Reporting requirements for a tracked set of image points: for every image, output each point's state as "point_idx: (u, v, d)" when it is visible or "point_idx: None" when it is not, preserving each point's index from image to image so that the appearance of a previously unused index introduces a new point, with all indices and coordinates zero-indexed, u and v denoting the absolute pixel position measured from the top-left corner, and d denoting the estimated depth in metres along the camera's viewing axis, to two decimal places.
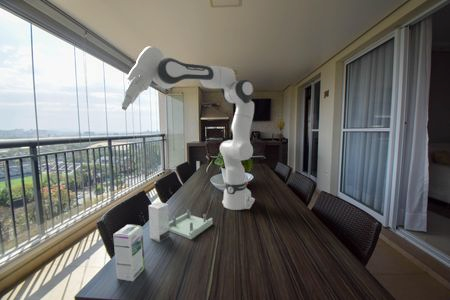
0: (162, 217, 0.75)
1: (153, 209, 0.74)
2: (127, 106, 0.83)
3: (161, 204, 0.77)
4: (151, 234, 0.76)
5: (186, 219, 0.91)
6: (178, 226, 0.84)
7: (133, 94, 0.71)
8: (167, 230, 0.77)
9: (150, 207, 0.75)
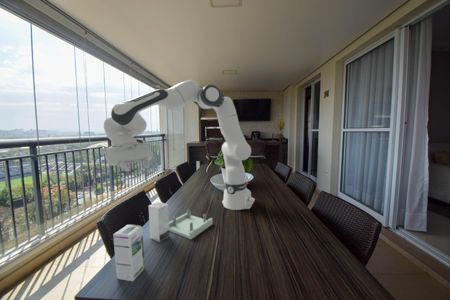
0: (162, 217, 0.75)
1: (153, 209, 0.74)
2: (146, 162, 0.86)
3: (161, 204, 0.77)
4: (151, 234, 0.76)
5: (186, 219, 0.91)
6: (178, 226, 0.84)
7: (111, 160, 0.74)
8: (167, 230, 0.77)
9: (150, 207, 0.75)
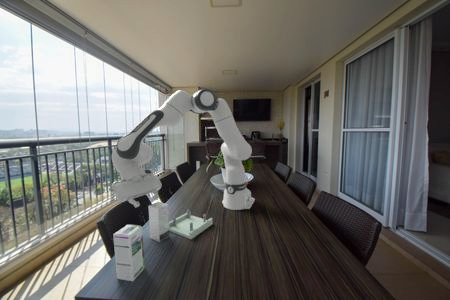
0: (162, 217, 0.75)
1: (153, 209, 0.74)
2: (155, 194, 0.85)
3: (161, 204, 0.77)
4: (151, 234, 0.76)
5: (186, 219, 0.91)
6: (178, 226, 0.84)
7: (120, 198, 0.73)
8: (167, 230, 0.77)
9: (150, 207, 0.75)
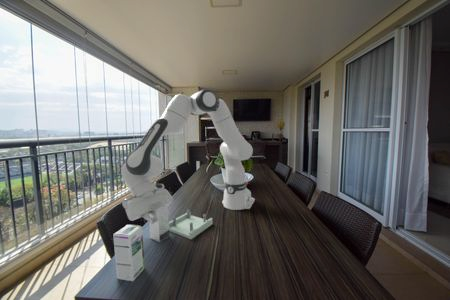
0: (162, 217, 0.75)
1: (153, 209, 0.74)
2: None
3: (161, 204, 0.77)
4: (151, 234, 0.76)
5: (186, 219, 0.91)
6: (178, 226, 0.84)
7: (132, 216, 0.69)
8: (167, 230, 0.77)
9: (150, 207, 0.75)
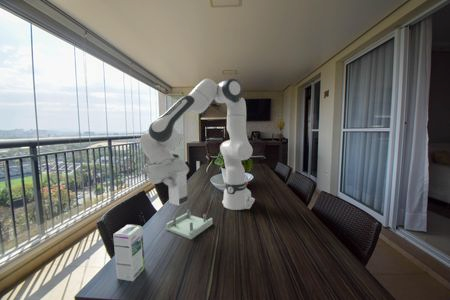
0: (181, 182, 0.79)
1: (173, 174, 0.78)
2: None
3: (179, 170, 0.81)
4: (170, 199, 0.80)
5: (186, 219, 0.91)
6: (178, 226, 0.84)
7: (154, 179, 0.73)
8: (185, 195, 0.81)
9: (169, 173, 0.79)
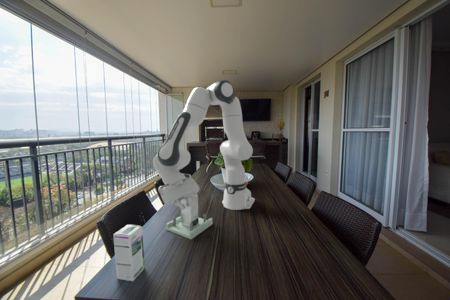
0: (193, 206, 0.83)
1: (186, 199, 0.82)
2: None
3: (191, 194, 0.85)
4: (182, 221, 0.85)
5: None
6: (178, 226, 0.84)
7: (168, 201, 0.78)
8: (197, 218, 0.85)
9: (182, 197, 0.83)
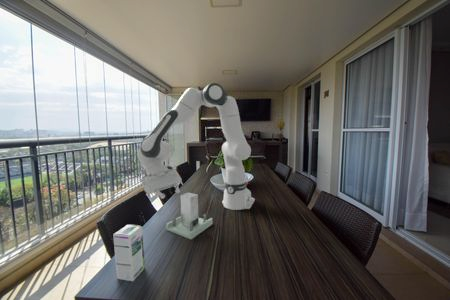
0: (193, 206, 0.83)
1: (186, 199, 0.82)
2: (177, 188, 0.95)
3: (191, 194, 0.85)
4: (182, 221, 0.85)
5: None
6: (178, 226, 0.84)
7: (149, 190, 0.84)
8: (197, 218, 0.85)
9: (182, 197, 0.83)
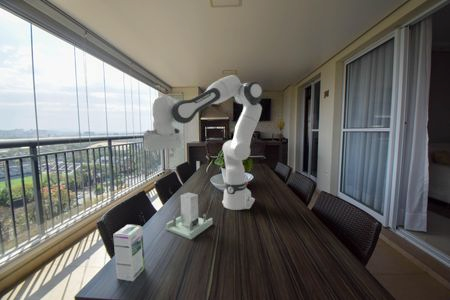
0: (193, 206, 0.83)
1: (186, 199, 0.82)
2: (172, 153, 0.95)
3: (191, 194, 0.85)
4: (182, 221, 0.85)
5: None
6: (178, 226, 0.84)
7: (147, 149, 0.82)
8: (197, 218, 0.85)
9: (182, 197, 0.83)
